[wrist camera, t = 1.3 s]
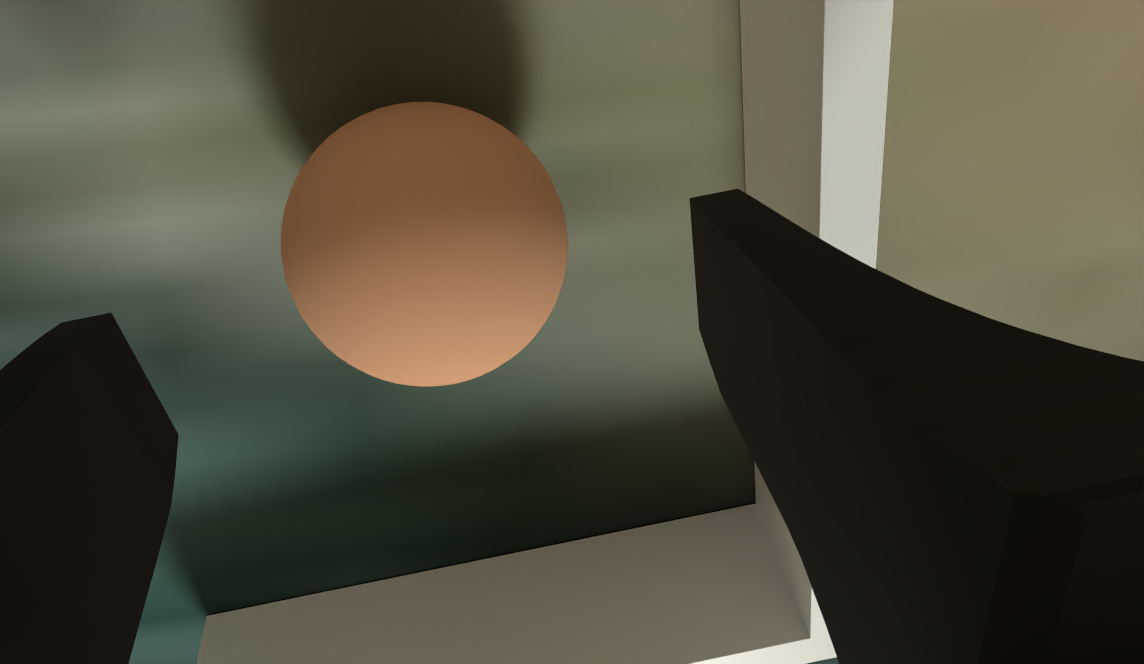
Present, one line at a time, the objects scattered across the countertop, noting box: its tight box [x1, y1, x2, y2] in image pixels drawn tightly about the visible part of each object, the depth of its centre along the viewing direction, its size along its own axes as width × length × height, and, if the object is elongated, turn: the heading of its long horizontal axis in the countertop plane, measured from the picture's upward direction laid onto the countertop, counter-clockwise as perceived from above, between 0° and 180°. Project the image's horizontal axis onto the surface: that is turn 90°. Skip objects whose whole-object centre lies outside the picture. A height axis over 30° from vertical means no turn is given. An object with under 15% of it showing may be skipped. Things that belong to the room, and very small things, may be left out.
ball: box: [281, 102, 568, 386], centre depth 13 cm, size 4×4×4 cm
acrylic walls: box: [197, 0, 894, 664], centre depth 15 cm, size 13×14×4 cm
